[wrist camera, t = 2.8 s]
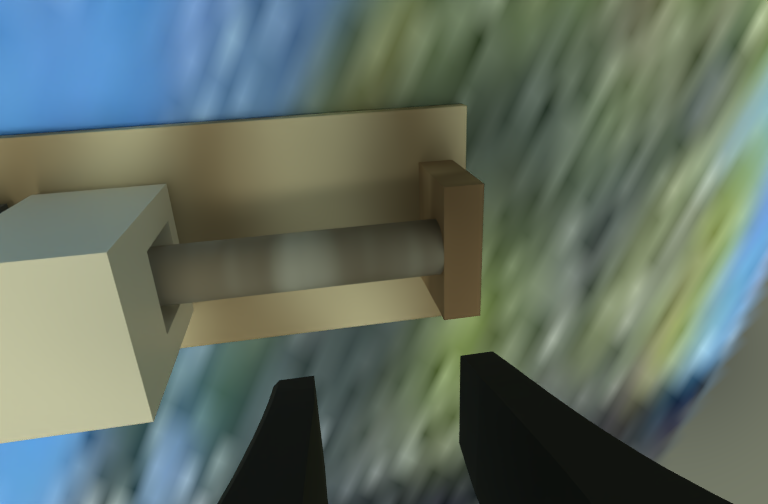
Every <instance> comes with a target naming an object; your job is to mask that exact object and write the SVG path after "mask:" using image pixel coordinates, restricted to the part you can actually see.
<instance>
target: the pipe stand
mask: <svg viewBox="0 0 768 504" xmlns="http://www.w3.org/2000/svg"><path fill="white" fill-rule="evenodd" d="M466 124H467V106H466V105H463V104H450V105H436V106H422V107H407V108H393V109H379V110H364V111H350V112H335V113H321V114H307V115H292V116H278V117H263V118H249V119H235V120H220V121H206V122H191V123H177V124H163V125H148V126H134V127H120V128H105V129H91V130H76V131H62V132H48V133H33V134H19V135H4V136H0V204H6V203H7V205H8V208H10V207H12V206H14V205H15V204H17V203H19V202H20V201H22V200H24V199H25V198H27V197H29V196H30V195H37V194H49V193H61V192H73V191H84V190H96V189H108V188H120V187H132V186H144V185H156V184H167V188H168V193H169V198H170V202H171V207H172V212H173V216H174V221H175V225H176V230H177V235H178V239H179V244H173V245H163V246H153V247H150V248H149V249H148V251H147V254H148V258H149V263H150V267H151V271H152V275H153V279H154V283H155V287H156V291H157V295H158V299H159V304H160V306H166V305H175V304H184V303H192V304H193V309H194V311H193V314H192V317H191V320H190V322H189V325H188V328H187V331H186V333H185V336H184V339H183V342H182V344H181V347H180V348H186V347H194V346H202V345H210V344H218V343H226V342H234V341H242V340H250V339H258V338H266V337H274V336H282V335H290V334H298V333H306V332H314V331H322V330H331V329H339V328H347V327H355V326H363V325H371V324H379V323H387V322H395V321H403V320H411V319H419V318H427V317H435V316H442V317H443V319H444V320H448V319H456V318H464V317H472V316H480V304H481V271H482V237H483V204H484V183H482V182H481V181H480V180H478V179H477V178H476V177H474V176H473V175H472V174H470V173H469V172H468V171H466Z"/></svg>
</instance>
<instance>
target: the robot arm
mask: <svg viewBox="0 0 768 504" xmlns="http://www.w3.org/2000/svg"><path fill="white" fill-rule="evenodd" d="M459 443H460V447H461V450H462V453H463V456H464V460H465V463H466V466H467V469H468V473H469V476H470V479H471V482H472V485H473V488H474V491H475V494H476V496H477V499H478V501H479V503H480V504H733V503H730V502H729V501H727V500H725V499H722V498H721V497H719V496H717V495H715V494H713V493H711V492H709V491H707V490H705V489H704V488H702V487H700V486H698V485H696V484H694V483H692V482H691V481H689V480H687V479H685V478H683V477H681V476H679V475H678V474H676V473H674V472H672V471H670V470H668V469H666V468H665V467H663V466H661V465H660V464H658V463H656V462H654V461H653V460H651V459H649V458H647V457H646V456H644V455H642V454H641V453H639V452H638V451H636V450H634V449H633V448H631V447H630V446H628V445H626V444H625V443H623V442H622V441H620V440H618V439H617V438H615V437H613V436H612V435H610V434H609V433H607V432H606V431H604V430H602V429H601V428H599V427H598V426H596V425H595V424H593V423H592V422H590V421H589V420H587V419H586V418H584V417H583V416H581V415H580V414H579V413H577V412H576V411H574V410H573V409H571V408H570V407H568V406H567V405H566V404H564V403H563V402H561V401H560V400H558V399H557V398H556V397H554V396H553V395H551V394H550V393H549V392H547V391H546V390H545V389H543V388H542V387H540V386H539V385H538V384H536V383H535V382H534V381H532V380H531V379H530V378H528V377H527V376H525V375H524V374H523V373H521V372H520V371H519V370H517V369H516V368H515V367H513V366H512V365H511V364H509V363H508V362H507V361H505V360H504V359H502V358H501V357H500V356H498V355H497V354H495V353H494V352H485V353H478V354H471V355H463V356H461V359H460V432H459ZM218 504H328V499H327V487H326V476H325V464H324V456H323V447H322V439H321V431H320V422H319V414H318V405H317V397H316V389H315V380H314V376H309V377H301V378H294V379H287V380H279V381H278V382H277V384H276V385H275V386H274V387H273V390H272V393H271V396H270V399H269V402H268V404H267V407H266V409H265V412H264V414H263V417H262V419H261V421H260V423H259V426H258V428H257V430H256V432H255V434H254V437H253V439H252V441H251V443H250V445H249V447H248V449H247V450H246V452H245V454H244V456H243V458H242V460H241V462H240V464H239V466H238V468H237V470H236V472H235V474H234V476H233V478H232V479H231V481H230V483H229V485H228V486H227V488H226V490H225V492H224V493H223V495H222V497H221V498H220V500H219V502H218Z"/></svg>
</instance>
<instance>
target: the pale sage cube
mask: <svg viewBox="0 0 768 504" xmlns="http://www.w3.org/2000/svg"><path fill="white" fill-rule="evenodd" d="M173 244H179V239H178V235H177V230H176V225H175V221H174V216H173V212H172V207H171V202H170V198H169V193H168V188H167V184H156V185H144V186H132V187H120V188H108V189H96V190H84V191H73V192H61V193H49V194H37V195H30V196H29V197H27V198H25V199H24V200H22V201H20V202H19V203H17V204H15V205H14V206H12V207H10V208H9V209H7V210H5V211H4V212H2V213H0V443H6V442H13V441H20V440H28V439H35V438H42V437H49V436H56V435H63V434H70V433H77V432H84V431H91V430H98V429H105V428H112V427H119V426H126V425H133V424H140V423H147V422H153V421H154V419H155V416H156V413H157V410H158V408H159V405H160V402H161V399H162V397H163V394H164V391H165V388H166V386H167V383H168V380H169V377H170V375H171V372H172V369H173V366H174V364H175V361H176V358H177V355H178V353H179V350H180V347H181V344H182V342H183V339H184V336H185V333H186V331H187V328H188V325H189V322H190V320H191V317H192V314H193V311H194V309H193V304H192V303H184V304H175V305H166V306H160V304H159V299H158V295H157V291H156V287H155V283H154V279H153V275H152V271H151V267H150V263H149V258H148V254H147V251H148V249H149V248H150V247H153V246H163V245H173Z"/></svg>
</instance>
